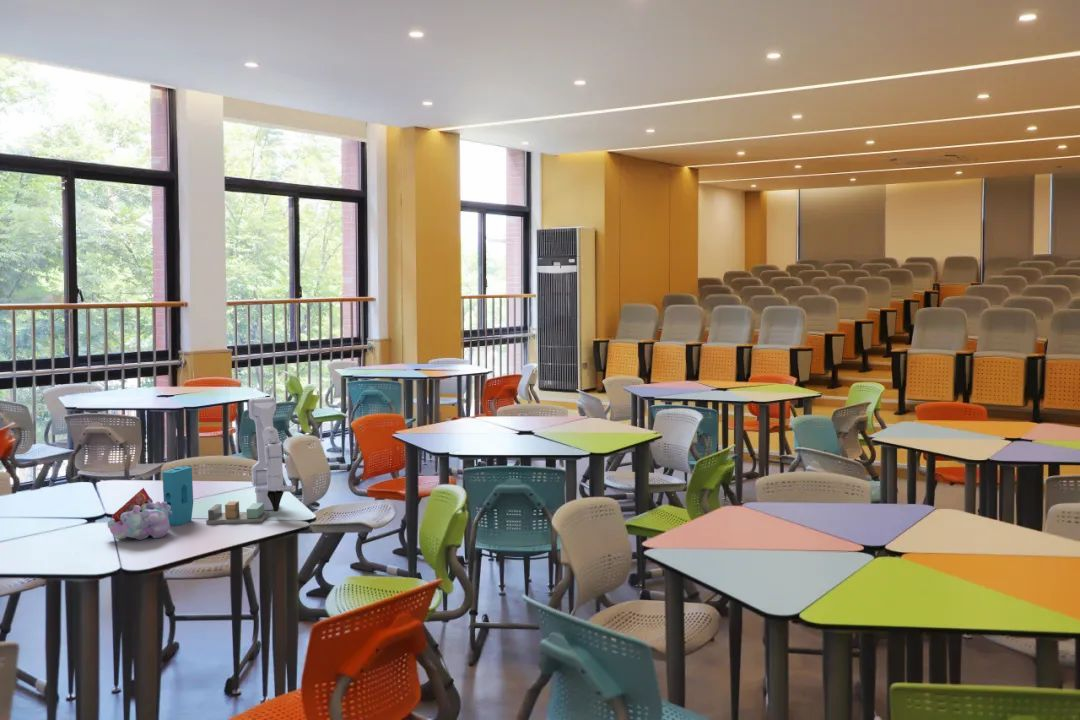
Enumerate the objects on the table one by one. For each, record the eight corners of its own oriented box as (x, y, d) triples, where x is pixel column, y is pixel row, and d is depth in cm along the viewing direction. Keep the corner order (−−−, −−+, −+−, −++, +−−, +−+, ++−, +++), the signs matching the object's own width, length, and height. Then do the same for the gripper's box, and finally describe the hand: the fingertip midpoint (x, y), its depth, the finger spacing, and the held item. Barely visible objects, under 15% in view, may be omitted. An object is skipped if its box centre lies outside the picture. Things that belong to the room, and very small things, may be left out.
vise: (216, 516, 352) (215, 503, 352) (269, 515, 353) (268, 502, 353) (206, 524, 341) (205, 511, 340) (261, 522, 342) (260, 509, 341)
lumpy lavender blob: (154, 532, 310) (165, 482, 319) (90, 531, 310) (102, 481, 318) (174, 549, 328) (184, 501, 337) (113, 548, 328) (124, 500, 336)
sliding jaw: (253, 512, 352) (253, 503, 352) (264, 511, 352) (264, 502, 352) (246, 518, 342) (246, 509, 342) (257, 517, 342) (257, 508, 342)
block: (175, 526, 338) (173, 472, 336) (163, 526, 339) (161, 472, 337) (195, 519, 349) (192, 466, 348) (183, 518, 350) (181, 466, 349)
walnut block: (230, 514, 349) (229, 501, 349) (239, 514, 349) (238, 501, 349) (225, 518, 343) (224, 504, 343) (235, 517, 344) (234, 504, 343)
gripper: (252, 477, 342) (253, 513, 343) (292, 476, 343) (293, 512, 344) (257, 474, 349) (258, 509, 350) (296, 473, 350) (297, 508, 351)
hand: (276, 510), depth 348 cm, fingers closed
